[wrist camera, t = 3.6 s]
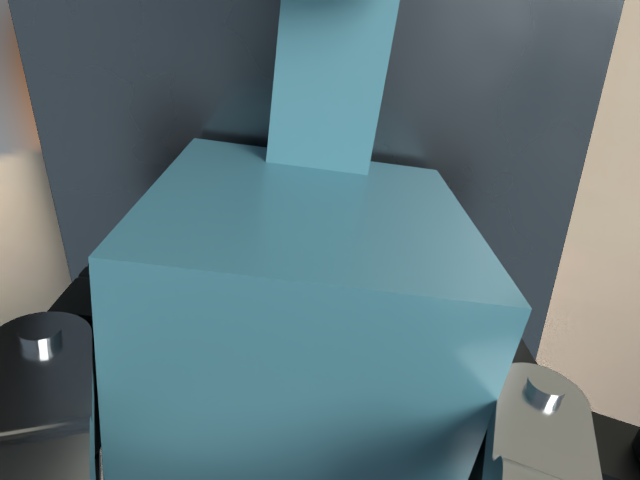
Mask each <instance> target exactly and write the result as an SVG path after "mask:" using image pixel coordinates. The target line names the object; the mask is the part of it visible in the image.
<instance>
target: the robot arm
mask: <svg viewBox="0 0 640 480" xmlns="http://www.w3.org/2000/svg"><path fill="white" fill-rule="evenodd" d="M100 448H101V433H100V419H99V405H98V390H97V376H96V361H95V347H94V332H93V318H92V304H91V289H90V275H89V263H88V266H87V267H85V268H84V269H83V270H82V271H81V273H80V274H79V275H78V278H75V280H74V281H73V282H72V283H71V284H70V285H69V287H68V288H67V289H66V290H65V291H64V292H63V294H62V295H61V296H60V297H59V298H58V299H57V301H56V302H55V303H54V304H53V305H52V307H51V308H50V309H49V310H48V311H47V312H39V313H33V314H28V315H25V316H21V317H18V318H16V319H13V320H11V321H9V322H7V323H5V324H3V325H2V326H0V480H101V463H100ZM468 480H640V427H638V426H635V425H632V424H628V423H625V422H622V421H619V420H616V419H613V418H610V417H607V416H604V415H601V414H598V413H595V412H592V411H591V408H590V404H589V401H588V399H587V397H586V396H585V394H584V393H583V392H582V391H581V390H580V389H579V388H578V387H577V386H576V385H575V384H574V383H573V382H572V381H570V380H569V379H567V378H566V377H565V376H563V375H561V374H559V373H558V372H555V371H553V370H551V369H549V368H546V367H543V366H540V365H538V364H537V363H536V361H535V359H534V358H533V356H532V354H531V353H530V351H529V349H528V348H527V346H526V344H525V343H524V341H523V339H522V338H521V340H520V342H519V345H518V348H517V350H516V353H515V356H514V358H513V361H512V364H511V366H510V369H509V372H508V374H507V377H506V380H505V382H504V385H503V388H502V390H501V393H500V396H499V398H498V400H497V402H496V404H495V407H494V410H493V412H492V415H491V417H490V420H489V423H488V426H487V430H486V433H485V436H484V438H483V441H482V444H481V446H480V449H479V452H478V454H477V457H476V460H475V462H474V465H473V468H472V470H471V473H470V476H469V478H468Z"/></svg>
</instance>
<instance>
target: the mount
mask: <svg viewBox="0 0 640 480" xmlns="http://www.w3.org/2000/svg"><path fill="white" fill-rule="evenodd" d="M8 3H9V7H10V12H11V16H12V20H13V25H14V29H15V34H16V38H17V42H18V47H19V51H20V56H21V60H22V64H23V69H24V73H25V77H26V82H27V86H28V91H29V95H30V99H31V104H32V108H33V113H34V117H35V122H36V126H37V131H38V135H39V139H40V144H41V148H42V153H43V157H44V161H45V166H46V170H47V175H48V179H49V183H50V188H51V192H52V197H53V201H54V205H55V210H56V214H57V219H58V223H59V227H60V232H61V236H62V241H63V245H64V249H65V254H66V258H67V263H68V267H69V271H70V276H71V280H72V282H73V281H74V280H75V278H78V275H79V274H80V273H81V271H82V270H83V269H84V268H85V267H87V266H88V263H89V260H88V257H89V256H90V255H91V254H92V252H93V251H94V250H95V249H96V248H97V247H98V246H99V245H100V243H101V242H102V241H103V240H104V239H105V238H106V237H107V236H108V234H109V233H110V232H111V231H112V230H113V229H114V228H115V227H116V225H117V224H118V223H119V222H120V221H121V220H122V219H123V218H124V216H125V215H126V214H127V213H128V212H129V211H130V210H131V209H132V207H133V206H134V205H135V204H136V203H137V202H138V201H139V200H140V198H141V197H142V196H143V195H144V194H145V193H146V192H147V191H148V189H149V188H150V187H151V186H152V185H153V184H154V183H155V182H156V181H157V179H158V178H159V177H160V176H161V175H162V174H163V173H164V172H165V170H166V169H167V168H168V167H169V166H170V165H171V164H172V163H173V161H174V160H175V159H176V158H177V157H178V156H179V155H180V154H181V152H182V151H183V150H184V149H185V148H186V147H187V146H188V145H189V143H190V142H191V141H192V140H193V139H194V138H197V139H205V140H213V141H220V142H228V143H235V144H243V145H250V146H258V147H266V148H267V145H268V134H269V124H270V113H271V102H272V91H273V80H274V70H275V59H276V48H277V37H278V26H279V16H280V5H281V0H8ZM623 4H624V0H400V3H399V8H398V14H397V19H396V25H395V30H394V36H393V41H392V46H391V52H390V57H389V63H388V68H387V74H386V79H385V84H384V90H383V95H382V101H381V106H380V112H379V117H378V122H377V128H376V133H375V139H374V144H373V150H372V155H371V160H370V161H372V162H379V163H387V164H395V165H402V166H410V167H417V168H425V169H433V170H437V171H438V172H439V174H440V175H441V177H442V178H443V180H444V181H445V183H446V184H447V186H448V187H449V188H450V190H451V191H452V193H453V194H454V196H455V197H456V199H457V200H458V202H459V203H460V205H461V206H462V207H463V209H464V210H465V212H466V213H467V215H468V216H469V218H470V219H471V221H472V222H473V223H474V225H475V226H476V228H477V229H478V231H479V232H480V234H481V235H482V237H483V238H484V239H485V241H486V242H487V244H488V245H489V247H490V248H491V250H492V251H493V253H494V254H495V255H496V257H497V258H498V260H499V261H500V263H501V264H502V266H503V267H504V269H505V270H506V271H507V273H508V274H509V276H510V277H511V279H512V280H513V282H514V283H515V285H516V286H517V288H518V289H519V290H520V292H521V293H522V295H523V296H524V298H525V299H526V301H527V302H528V304H529V305H530V306H531V308H532V310H531V313H530V316H529V318H528V321H527V324H526V326H525V329H524V332H523V334H522V337H521V338H522V339H523V341H524V343H525V344H526V346H527V348H528V349H529V351H530V353H531V354H532V356H533V358H534V359H535V360H536V356H537V352H538V348H539V344H540V340H541V336H542V332H543V328H544V324H545V320H546V316H547V312H548V307H549V303H550V299H551V295H552V291H553V287H554V283H555V279H556V275H557V271H558V267H559V263H560V259H561V255H562V251H563V247H564V243H565V239H566V235H567V231H568V227H569V223H570V219H571V214H572V210H573V206H574V202H575V198H576V194H577V190H578V186H579V182H580V178H581V174H582V170H583V166H584V162H585V158H586V154H587V150H588V146H589V142H590V138H591V134H592V130H593V126H594V121H595V117H596V113H597V109H598V105H599V101H600V97H601V93H602V89H603V85H604V81H605V77H606V73H607V69H608V65H609V61H610V57H611V53H612V49H613V45H614V41H615V37H616V32H617V28H618V24H619V20H620V16H621V12H622V8H623Z"/></svg>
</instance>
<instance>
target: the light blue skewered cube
mask: <svg viewBox="0 0 640 480" xmlns="http://www.w3.org/2000/svg"><path fill="white" fill-rule="evenodd" d="M399 3H400V0H281V5H280V16H279V26H278V37H277V48H276V59H275V70H274V80H273V91H272V102H271V113H270V124H269V134H268V145H267V148H266V147H258V146H250V145H243V144H235V143H228V142H220V141H213V140H205V139H197V138H194V139H193V140H192V141H191V142H190V143H189V145H188V146H187V147H186V148H185V149H184V150H183V151H182V152H181V154H180V155H179V156H178V157H177V158H176V159H175V160H174V161H173V163H172V164H171V165H170V166H169V167H168V168H167V169H166V170H165V172H164V173H163V174H162V175H161V176H160V177H159V178H158V179H157V181H156V182H155V183H154V184H153V185H152V186H151V187H150V188H149V189H148V191H147V192H146V193H145V194H144V195H143V196H142V197H141V198H140V200H139V201H138V202H137V203H136V204H135V205H134V206H133V207H132V209H131V210H130V211H129V212H128V213H127V214H126V215H125V216H124V218H123V219H122V220H121V221H120V222H119V223H118V224H117V225H116V227H115V228H114V229H113V230H112V231H111V232H110V233H109V234H108V236H107V237H106V238H105V239H104V240H103V241H102V242H101V243H100V245H99V246H98V247H97V248H96V249H95V250H94V251H93V252H92V254H91V255H90V256H89V257H88V260H89V275H90V289H91V304H92V318H93V332H94V347H95V361H96V376H97V390H98V405H99V419H100V433H101V448H102V462H103V477H104V480H468V478H469V476H470V473H471V470H472V468H473V465H474V462H475V460H476V457H477V454H478V452H479V449H480V446H481V444H482V441H483V438H484V436H485V433H486V430H487V426H488V423H489V420H490V417H491V415H492V412H493V410H494V407H495V404H496V402H497V400H498V398H499V396H500V393H501V390H502V388H503V385H504V382H505V380H506V377H507V374H508V372H509V369H510V366H511V364H512V361H513V358H514V356H515V353H516V350H517V348H518V345H519V342H520V340H521V337H522V334H523V332H524V329H525V326H526V324H527V321H528V318H529V316H530V313H531V310H532V308H531V306H530V305H529V304H528V302H527V301H526V299H525V298H524V296H523V295H522V293H521V292H520V290H519V289H518V288H517V286H516V285H515V283H514V282H513V280H512V279H511V277H510V276H509V274H508V273H507V271H506V270H505V269H504V267H503V266H502V264H501V263H500V261H499V260H498V258H497V257H496V255H495V254H494V253H493V251H492V250H491V248H490V247H489V245H488V244H487V242H486V241H485V239H484V238H483V237H482V235H481V234H480V232H479V231H478V229H477V228H476V226H475V225H474V223H473V222H472V221H471V219H470V218H469V216H468V215H467V213H466V212H465V210H464V209H463V207H462V206H461V205H460V203H459V202H458V200H457V199H456V197H455V196H454V194H453V193H452V191H451V190H450V188H449V187H448V186H447V184H446V183H445V181H444V180H443V178H442V177H441V175H440V174H439V172H438V171H437V170H433V169H425V168H417V167H410V166H402V165H395V164H387V163H379V162H372V161H370V160H371V155H372V150H373V144H374V139H375V133H376V128H377V122H378V117H379V112H380V106H381V101H382V95H383V90H384V84H385V79H386V74H387V68H388V63H389V57H390V52H391V46H392V41H393V36H394V30H395V25H396V19H397V14H398V8H399Z"/></svg>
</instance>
